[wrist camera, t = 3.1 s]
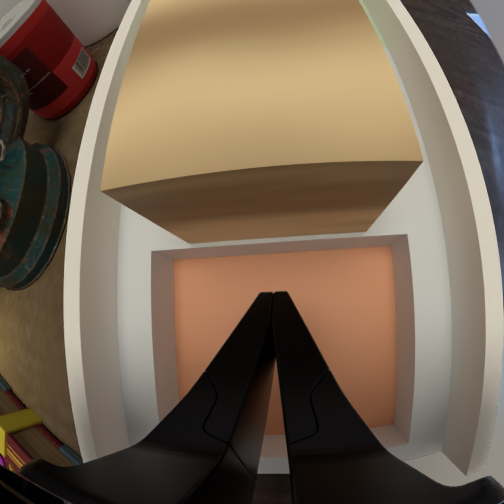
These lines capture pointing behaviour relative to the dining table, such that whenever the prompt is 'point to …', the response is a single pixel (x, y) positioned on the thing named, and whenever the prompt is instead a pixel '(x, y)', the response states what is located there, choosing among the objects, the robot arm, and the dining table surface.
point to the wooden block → (258, 121)
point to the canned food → (46, 57)
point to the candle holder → (90, 17)
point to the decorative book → (27, 436)
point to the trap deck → (298, 288)
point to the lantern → (27, 189)
